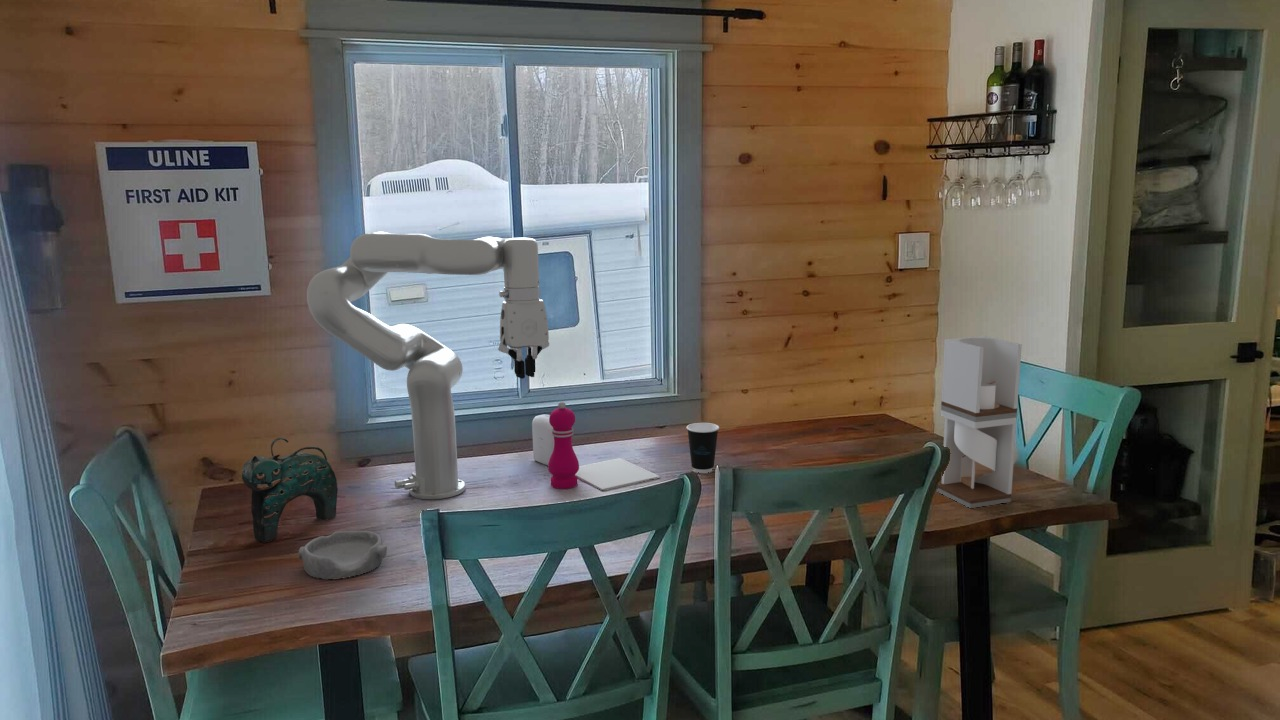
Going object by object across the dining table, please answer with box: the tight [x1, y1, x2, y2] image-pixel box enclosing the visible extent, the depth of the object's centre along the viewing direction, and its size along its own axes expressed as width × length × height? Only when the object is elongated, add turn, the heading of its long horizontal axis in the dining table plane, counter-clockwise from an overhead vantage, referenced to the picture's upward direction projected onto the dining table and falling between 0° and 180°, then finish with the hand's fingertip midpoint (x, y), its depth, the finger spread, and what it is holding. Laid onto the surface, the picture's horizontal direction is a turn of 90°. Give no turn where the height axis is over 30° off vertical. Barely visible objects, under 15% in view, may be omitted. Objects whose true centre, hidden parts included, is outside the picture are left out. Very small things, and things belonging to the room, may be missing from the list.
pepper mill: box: [547, 401, 580, 490], centre depth 213 cm, size 7×7×20 cm
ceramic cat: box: [241, 437, 339, 544], centre depth 188 cm, size 20×6×20 cm, turn 145°
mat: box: [575, 457, 661, 491], centre depth 222 cm, size 16×18×1 cm
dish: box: [298, 530, 388, 580], centre depth 171 cm, size 14×14×5 cm
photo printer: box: [531, 414, 554, 466], centre depth 231 cm, size 10×4×12 cm, turn 39°
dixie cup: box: [685, 422, 720, 474], centre depth 224 cm, size 8×8×11 cm
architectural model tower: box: [936, 335, 1023, 509], centre depth 200 cm, size 11×11×35 cm
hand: (525, 376), depth 205 cm, fingers closed
